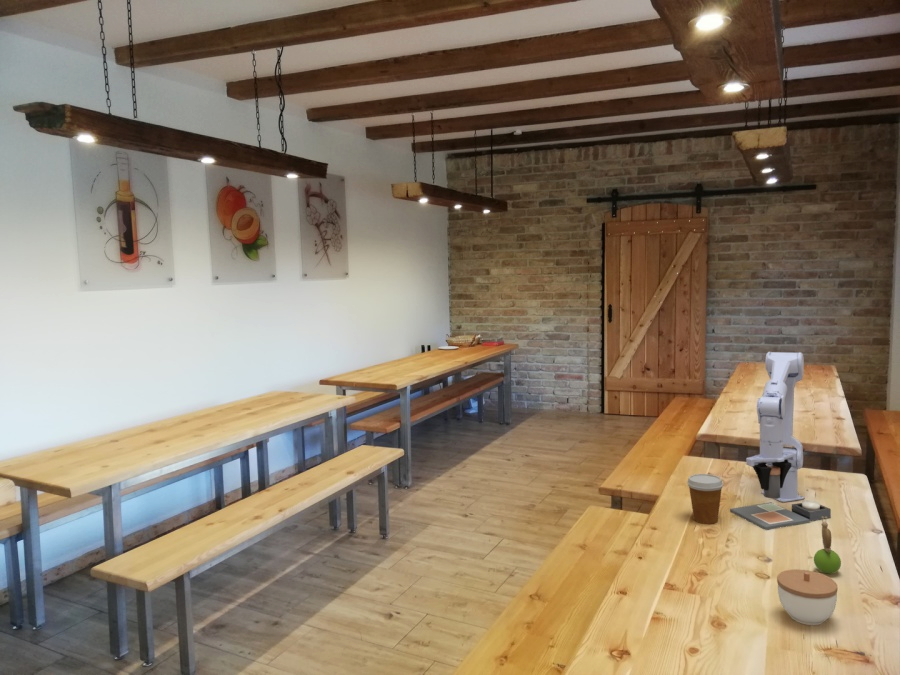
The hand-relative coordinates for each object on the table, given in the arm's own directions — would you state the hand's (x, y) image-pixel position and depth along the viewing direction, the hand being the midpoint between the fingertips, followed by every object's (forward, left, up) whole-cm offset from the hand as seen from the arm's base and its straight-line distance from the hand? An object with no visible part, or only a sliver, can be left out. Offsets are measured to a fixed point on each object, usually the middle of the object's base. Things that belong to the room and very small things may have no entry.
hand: (771, 488), depth 185 cm
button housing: (+1, +12, -9) cm, 15 cm away
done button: (+1, +12, -7) cm, 14 cm away
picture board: (-2, +1, -9) cm, 10 cm away
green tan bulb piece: (+30, -10, -9) cm, 33 cm away
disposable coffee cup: (-7, -16, -9) cm, 20 cm away
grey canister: (0, 0, -2) cm, 2 cm away
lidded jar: (+45, -29, -9) cm, 54 cm away
